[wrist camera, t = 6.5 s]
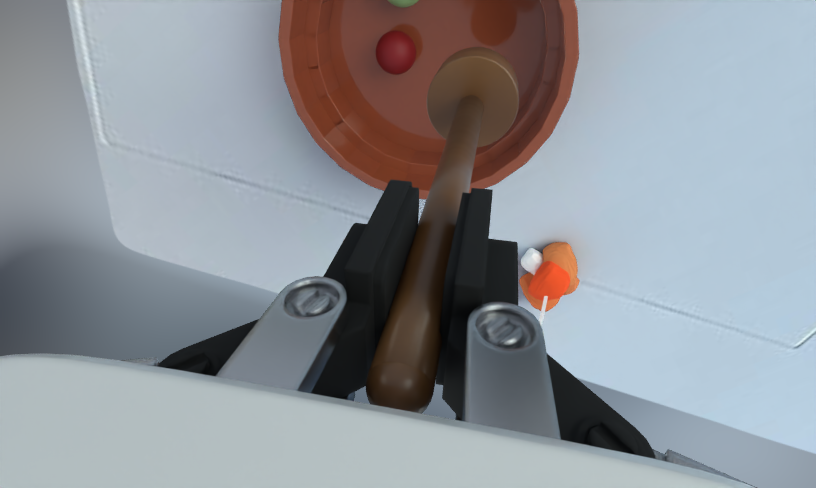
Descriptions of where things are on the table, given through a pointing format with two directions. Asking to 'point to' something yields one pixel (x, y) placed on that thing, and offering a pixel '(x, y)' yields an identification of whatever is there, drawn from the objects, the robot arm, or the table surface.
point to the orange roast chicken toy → (548, 275)
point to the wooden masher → (440, 223)
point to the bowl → (421, 80)
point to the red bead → (395, 52)
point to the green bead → (403, 3)
